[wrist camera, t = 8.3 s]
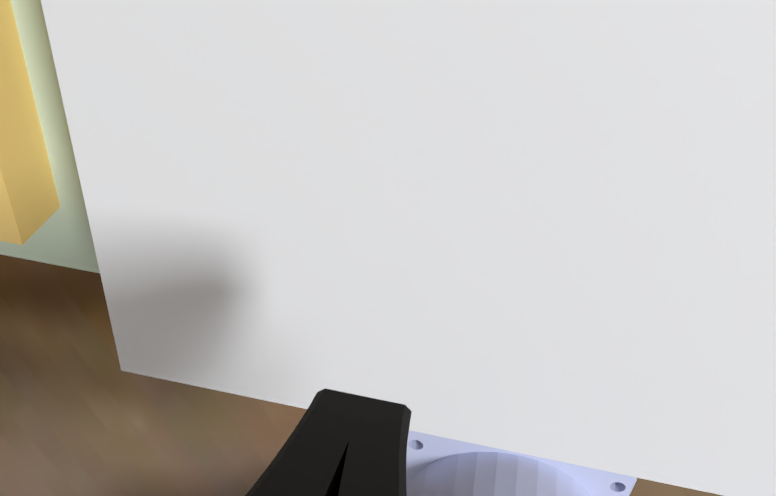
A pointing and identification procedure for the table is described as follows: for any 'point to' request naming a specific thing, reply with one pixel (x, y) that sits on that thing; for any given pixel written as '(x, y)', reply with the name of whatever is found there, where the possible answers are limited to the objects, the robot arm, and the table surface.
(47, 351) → the table surface
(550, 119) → the white box
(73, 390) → the table surface
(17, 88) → the yellow rectangular block
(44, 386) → the table surface
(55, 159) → the mat
